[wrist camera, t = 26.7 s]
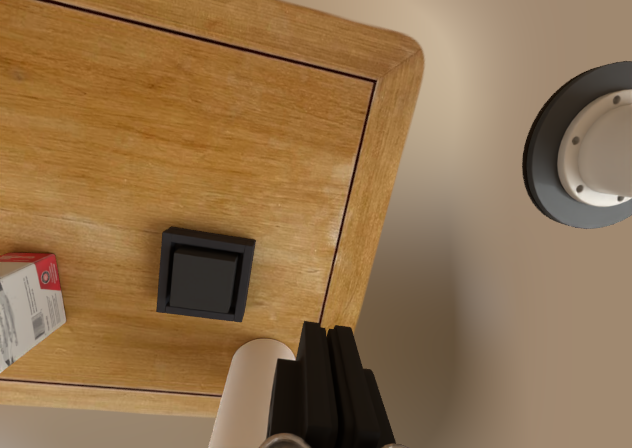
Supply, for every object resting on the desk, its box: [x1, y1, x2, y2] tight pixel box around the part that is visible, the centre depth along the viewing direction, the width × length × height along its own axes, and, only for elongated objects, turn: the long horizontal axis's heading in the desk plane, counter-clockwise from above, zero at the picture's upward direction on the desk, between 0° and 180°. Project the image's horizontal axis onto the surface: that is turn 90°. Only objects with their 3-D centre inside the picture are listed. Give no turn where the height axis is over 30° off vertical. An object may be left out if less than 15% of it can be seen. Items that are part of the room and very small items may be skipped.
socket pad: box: [156, 227, 256, 322], centre depth 33 cm, size 9×9×2 cm
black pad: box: [170, 245, 239, 313], centre depth 32 cm, size 6×6×3 cm
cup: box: [208, 339, 295, 448], centre depth 30 cm, size 8×8×16 cm
